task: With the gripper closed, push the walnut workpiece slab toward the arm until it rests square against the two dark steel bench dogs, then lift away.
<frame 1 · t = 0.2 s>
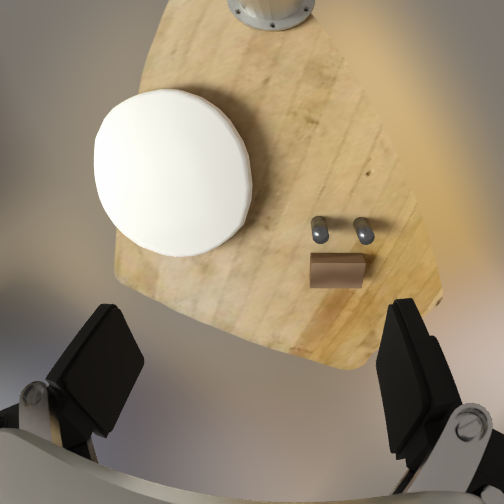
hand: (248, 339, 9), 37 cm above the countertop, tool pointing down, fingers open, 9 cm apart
white thick disc: (172, 172, 45), on the countertop
workpiece: (335, 264, 49), on the countertop
bench dogs: (339, 223, 45), on the countertop
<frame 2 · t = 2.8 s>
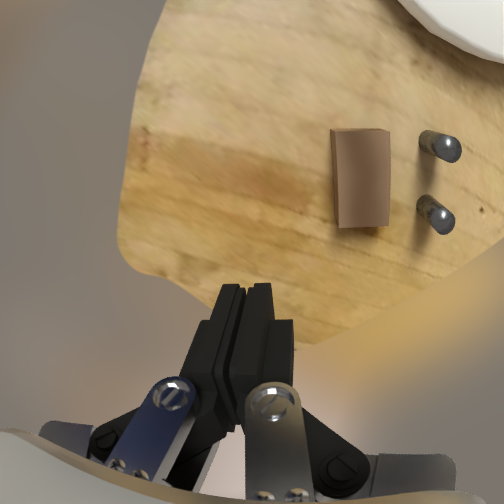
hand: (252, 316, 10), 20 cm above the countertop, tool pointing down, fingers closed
workpiece: (357, 172, 27), on the countertop
bench dogs: (428, 173, 25), on the countertop
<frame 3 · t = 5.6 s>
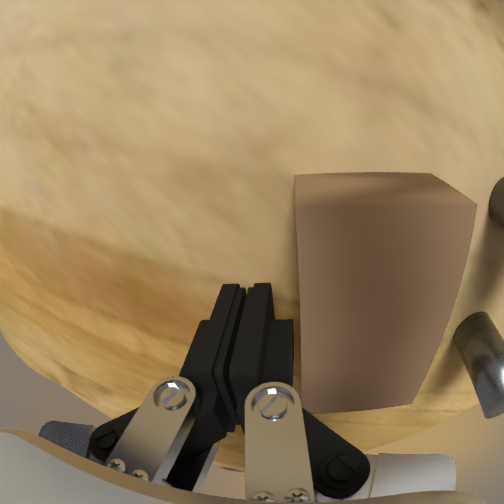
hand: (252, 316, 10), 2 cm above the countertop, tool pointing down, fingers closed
workpiece: (360, 279, 11), on the countertop, touching gripper
bench dogs: (492, 273, 10), on the countertop
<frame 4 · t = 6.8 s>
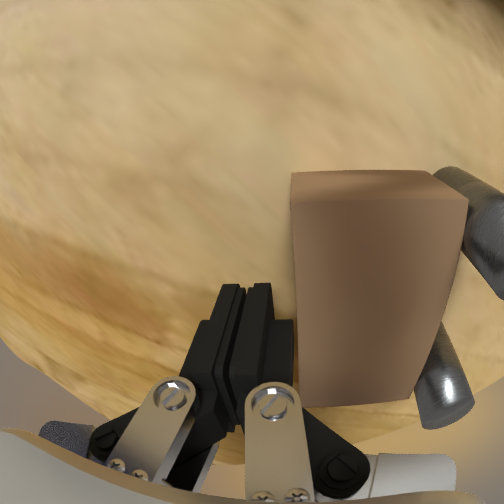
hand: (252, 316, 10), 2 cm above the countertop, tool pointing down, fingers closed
workpiece: (357, 275, 12), on the countertop
bench dogs: (437, 273, 11), on the countertop
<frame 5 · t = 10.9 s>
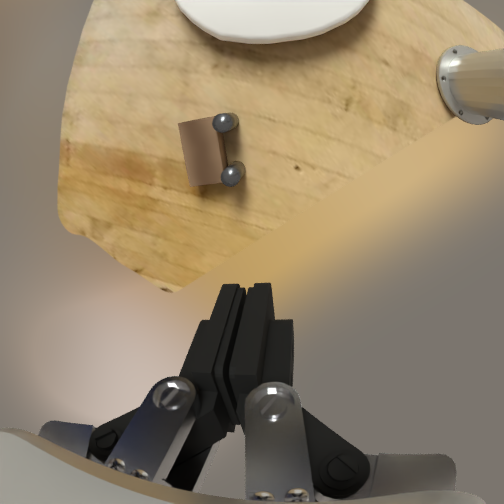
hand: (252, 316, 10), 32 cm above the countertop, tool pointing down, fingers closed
workpiece: (208, 148, 39), on the countertop
bench dogs: (233, 145, 38), on the countertop
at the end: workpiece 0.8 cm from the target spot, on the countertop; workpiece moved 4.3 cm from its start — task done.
